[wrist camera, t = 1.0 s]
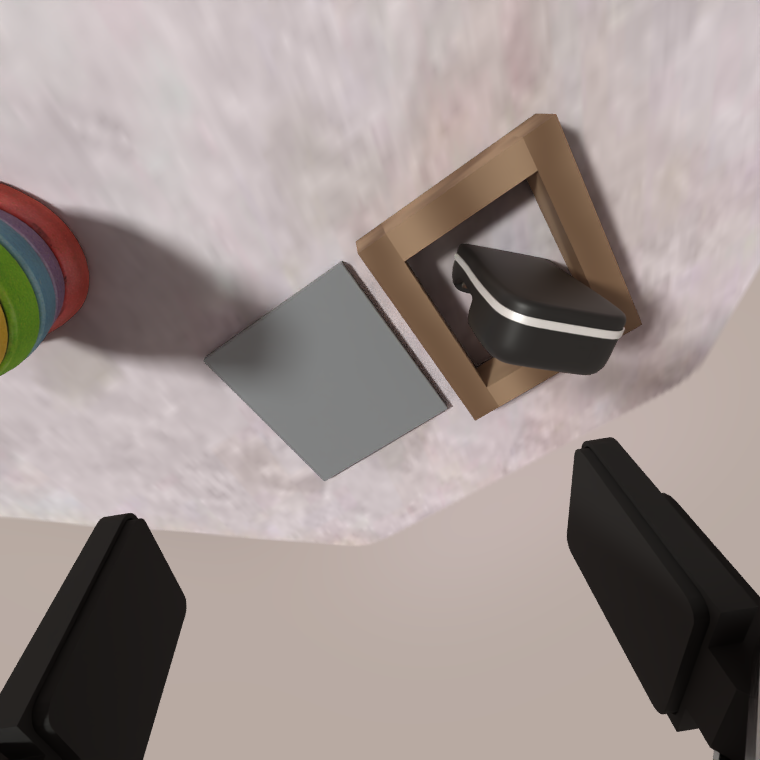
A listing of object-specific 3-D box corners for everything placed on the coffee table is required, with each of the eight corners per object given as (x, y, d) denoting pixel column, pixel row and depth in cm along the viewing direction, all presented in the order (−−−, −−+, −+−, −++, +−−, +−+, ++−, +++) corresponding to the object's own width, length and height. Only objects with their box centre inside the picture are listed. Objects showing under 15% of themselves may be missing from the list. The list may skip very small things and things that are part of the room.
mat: (341, 261, 32) (341, 263, 31) (446, 404, 38) (447, 408, 37) (205, 357, 34) (203, 361, 34) (324, 476, 40) (324, 481, 40)
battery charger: (439, 294, 33) (485, 373, 23) (455, 240, 32) (510, 300, 22) (532, 310, 34) (612, 391, 25) (551, 258, 33) (646, 323, 23)
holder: (535, 113, 28) (556, 113, 26) (619, 308, 35) (642, 324, 32) (355, 241, 31) (357, 253, 28) (465, 399, 38) (475, 420, 35)
